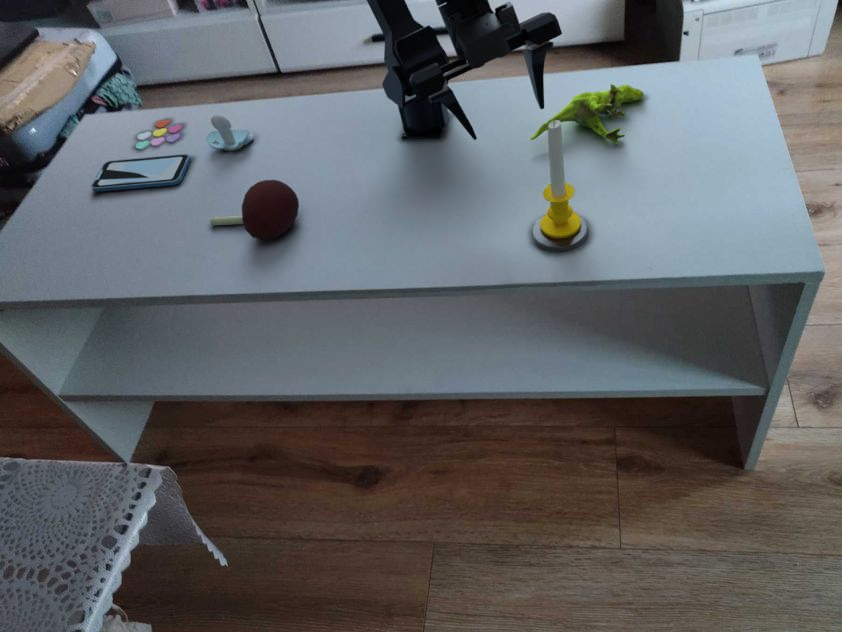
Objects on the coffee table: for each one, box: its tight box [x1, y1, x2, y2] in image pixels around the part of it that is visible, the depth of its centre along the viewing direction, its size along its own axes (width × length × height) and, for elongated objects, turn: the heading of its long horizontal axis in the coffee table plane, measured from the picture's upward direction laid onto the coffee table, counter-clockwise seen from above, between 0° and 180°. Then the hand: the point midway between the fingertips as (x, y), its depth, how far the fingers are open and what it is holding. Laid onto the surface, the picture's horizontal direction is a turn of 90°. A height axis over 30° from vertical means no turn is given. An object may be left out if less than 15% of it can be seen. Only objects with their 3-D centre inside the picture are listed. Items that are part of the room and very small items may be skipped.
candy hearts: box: [135, 119, 183, 151], centre depth 122 cm, size 8×8×1 cm
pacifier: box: [205, 114, 255, 152], centre depth 114 cm, size 7×6×6 cm
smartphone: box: [90, 153, 192, 193], centre depth 114 cm, size 7×1×15 cm
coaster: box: [531, 213, 588, 253], centre depth 91 cm, size 7×7×1 cm
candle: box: [540, 120, 581, 239], centre depth 85 cm, size 5×5×16 cm
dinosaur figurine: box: [529, 83, 644, 145], centre depth 101 cm, size 20×10×6 cm, turn 133°
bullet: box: [209, 215, 244, 227], centre depth 102 cm, size 1×1×8 cm
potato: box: [241, 179, 300, 241], centre depth 98 cm, size 8×9×6 cm
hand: (508, 124), depth 89 cm, fingers open, 9 cm apart
